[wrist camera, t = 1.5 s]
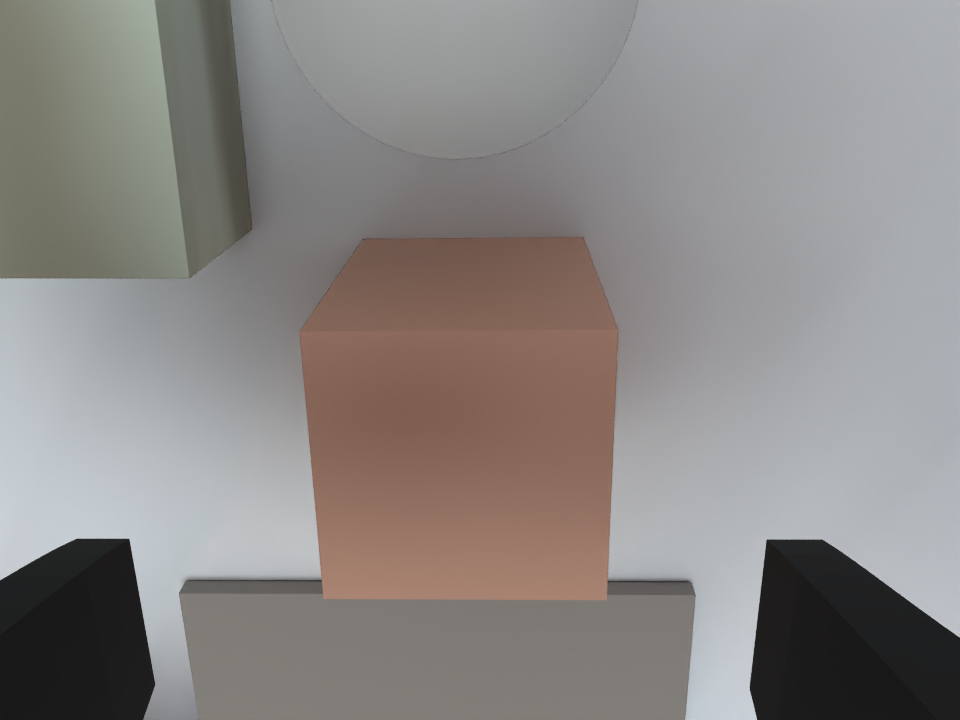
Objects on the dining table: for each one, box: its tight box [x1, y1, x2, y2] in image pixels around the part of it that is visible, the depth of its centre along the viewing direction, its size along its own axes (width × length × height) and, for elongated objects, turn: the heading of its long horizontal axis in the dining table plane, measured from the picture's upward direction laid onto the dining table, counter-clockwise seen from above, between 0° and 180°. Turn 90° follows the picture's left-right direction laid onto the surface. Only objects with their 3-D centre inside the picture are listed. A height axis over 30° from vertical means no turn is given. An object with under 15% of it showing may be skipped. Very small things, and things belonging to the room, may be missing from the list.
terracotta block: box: [299, 237, 618, 600], centre depth 16 cm, size 4×4×6 cm
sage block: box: [0, 0, 252, 278], centre depth 15 cm, size 5×5×4 cm
